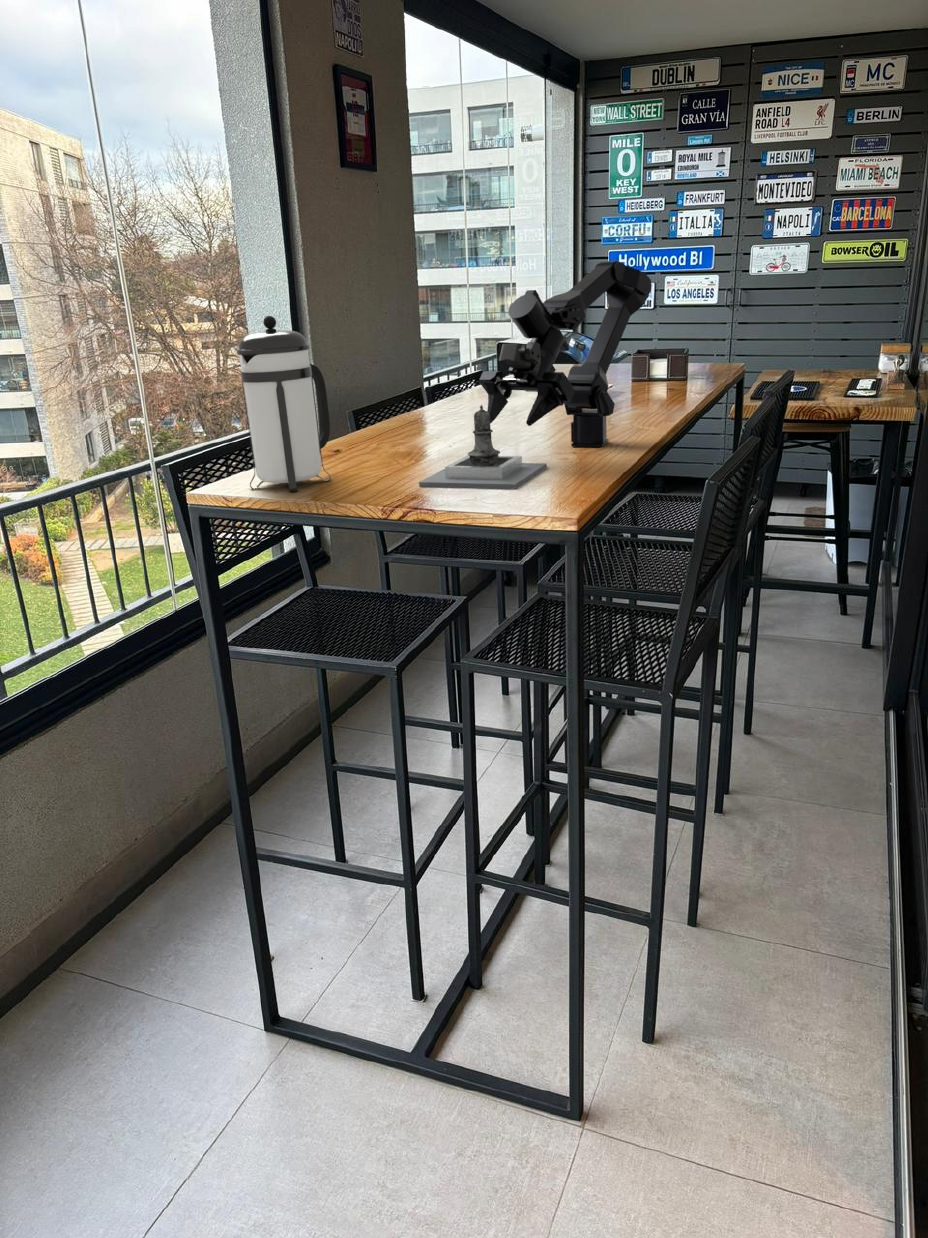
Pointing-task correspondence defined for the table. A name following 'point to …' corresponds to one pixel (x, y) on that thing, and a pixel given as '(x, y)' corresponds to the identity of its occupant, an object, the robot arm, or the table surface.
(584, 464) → the table surface
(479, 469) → the socket collar
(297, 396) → the coffee press
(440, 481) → the socket board
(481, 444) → the salt shaker
